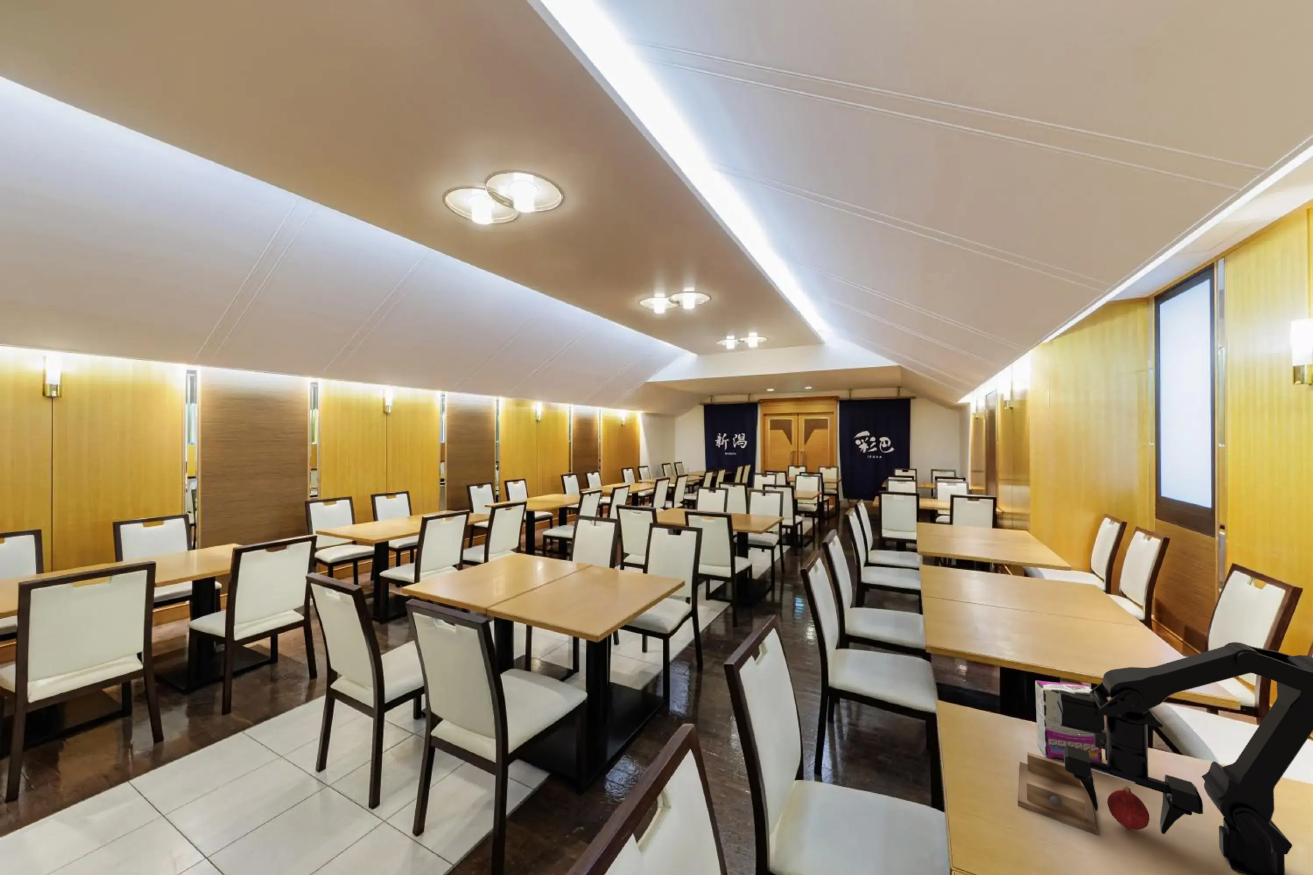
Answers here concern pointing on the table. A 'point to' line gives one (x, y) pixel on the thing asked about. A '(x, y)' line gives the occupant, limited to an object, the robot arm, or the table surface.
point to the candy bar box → (1048, 727)
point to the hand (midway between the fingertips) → (1128, 820)
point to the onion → (1128, 809)
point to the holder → (1054, 792)
